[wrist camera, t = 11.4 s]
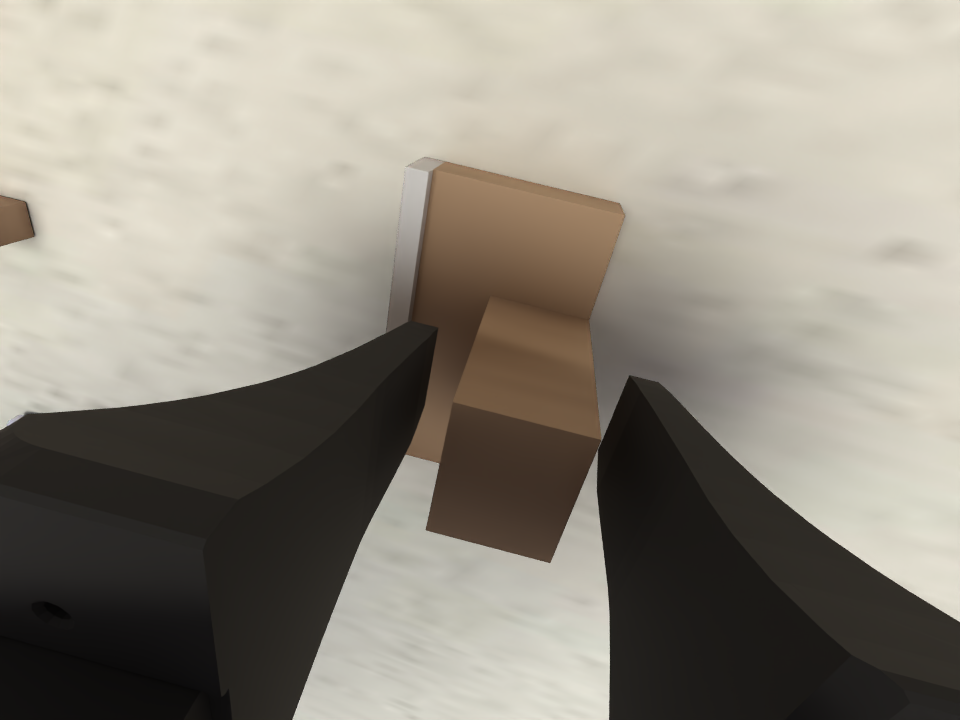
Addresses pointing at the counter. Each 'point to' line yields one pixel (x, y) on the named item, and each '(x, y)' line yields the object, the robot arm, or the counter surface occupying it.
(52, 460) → the robot arm
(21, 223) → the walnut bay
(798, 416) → the counter surface
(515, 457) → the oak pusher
